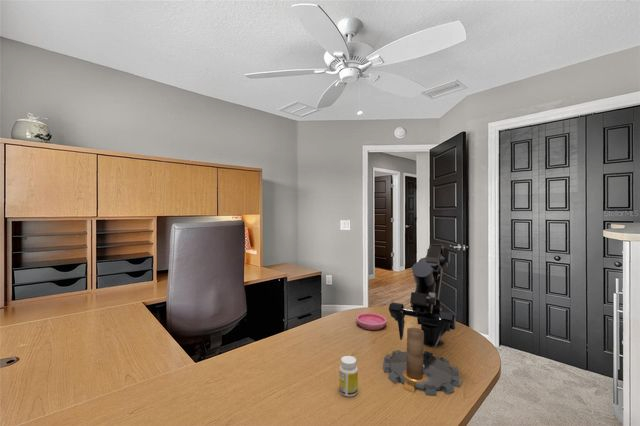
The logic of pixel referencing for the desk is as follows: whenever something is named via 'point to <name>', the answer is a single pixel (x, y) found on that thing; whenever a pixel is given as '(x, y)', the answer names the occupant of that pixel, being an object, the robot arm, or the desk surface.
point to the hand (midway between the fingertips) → (417, 343)
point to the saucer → (371, 321)
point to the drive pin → (415, 353)
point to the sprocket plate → (434, 373)
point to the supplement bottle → (348, 376)
